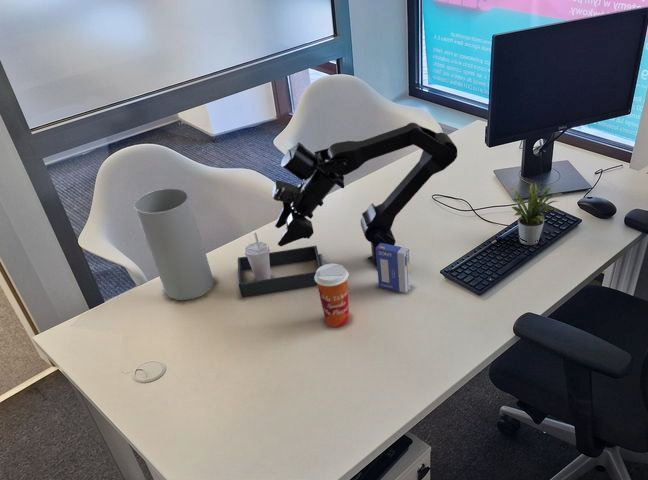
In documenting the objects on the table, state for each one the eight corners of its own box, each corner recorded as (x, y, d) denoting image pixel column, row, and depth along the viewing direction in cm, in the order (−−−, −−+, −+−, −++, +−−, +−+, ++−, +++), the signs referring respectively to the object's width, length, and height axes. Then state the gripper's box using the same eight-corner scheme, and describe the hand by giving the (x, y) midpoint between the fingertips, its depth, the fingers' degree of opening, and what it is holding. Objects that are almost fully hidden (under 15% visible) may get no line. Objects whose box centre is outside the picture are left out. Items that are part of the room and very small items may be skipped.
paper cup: (324, 333, 145) (316, 284, 135) (319, 314, 150) (311, 265, 141) (357, 326, 146) (351, 277, 137) (350, 307, 152) (344, 259, 142)
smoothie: (273, 286, 160) (263, 239, 151) (249, 287, 160) (237, 240, 151) (277, 272, 165) (268, 226, 156) (254, 273, 165) (243, 227, 156)
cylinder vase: (222, 277, 164) (198, 190, 148) (199, 304, 155) (170, 215, 139) (181, 271, 167) (153, 186, 151) (156, 298, 158) (123, 210, 142)
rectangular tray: (322, 257, 170) (320, 244, 167) (328, 283, 160) (326, 271, 157) (240, 270, 167) (237, 257, 164) (242, 298, 157) (238, 285, 154)
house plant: (569, 248, 168) (577, 193, 157) (524, 260, 164) (530, 204, 153) (541, 224, 178) (547, 171, 167) (498, 235, 174) (502, 181, 164)
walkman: (378, 287, 158) (375, 247, 150) (383, 281, 160) (380, 241, 152) (406, 293, 155) (404, 252, 147) (411, 287, 157) (409, 247, 149)
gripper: (285, 154, 152) (249, 201, 158) (291, 187, 138) (252, 238, 144) (320, 180, 158) (285, 224, 164) (330, 214, 144) (291, 261, 150)
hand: (277, 236), depth 155 cm, fingers open, 9 cm apart
